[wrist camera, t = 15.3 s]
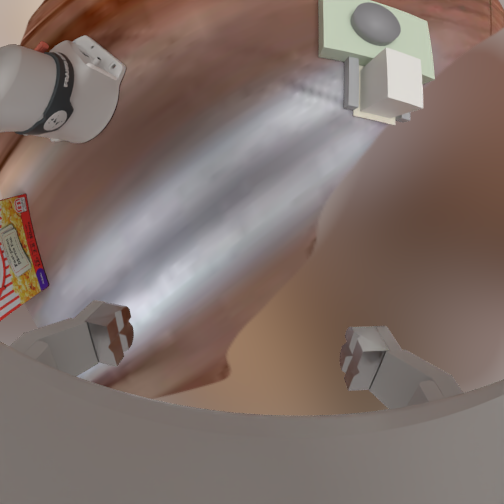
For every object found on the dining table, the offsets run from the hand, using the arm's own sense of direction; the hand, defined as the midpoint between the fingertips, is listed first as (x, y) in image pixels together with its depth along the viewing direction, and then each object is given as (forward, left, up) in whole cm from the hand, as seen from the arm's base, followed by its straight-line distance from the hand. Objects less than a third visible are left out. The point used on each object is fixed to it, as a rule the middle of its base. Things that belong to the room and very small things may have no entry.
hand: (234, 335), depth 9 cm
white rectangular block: (-6, +25, -31) cm, 40 cm away
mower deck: (-10, +28, -31) cm, 43 cm away
